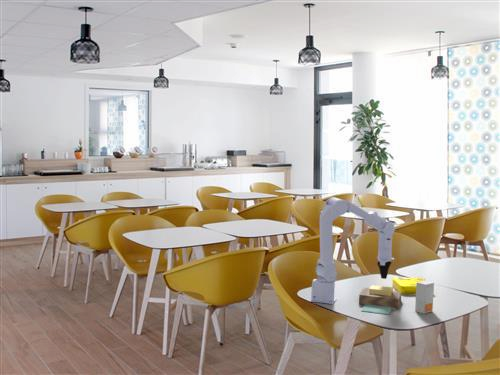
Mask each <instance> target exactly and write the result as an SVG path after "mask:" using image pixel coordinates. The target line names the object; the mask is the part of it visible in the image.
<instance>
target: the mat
mask: <svg viewBox="0 0 500 375" xmlns="http://www.w3.org/2000/svg"><path fill="white" fill-rule="evenodd" d="M392 309H393V308H392V307H384V306H376V305H368V304H365V305H363V307H362V309H361V310H360V311H361V312H365V313H366V312H367V313H374V314H381V315H390V314H391V312H392Z"/></svg>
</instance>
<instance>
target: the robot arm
mask: <svg viewBox="0 0 500 375" xmlns="http://www.w3.org/2000/svg"><path fill="white" fill-rule="evenodd" d="M346 213H347V214H350V213H352V214H354V215H355V216H358V217H359V218H360V219H363V220H364V223H365V225H367V226H370V227H372V228H374V229H375V230H376V231H378V242H377V243H378V246H377V249H378V250H377V262H376V264H377V266H378V270H379V273H380V278H381V279H383V280H384V279H385V280H386V279H387V278H388V274H389V269H390V266H391V265H392V261H395V258H394V257H392V254H393V253H392V251H393V237H394V236H393V234H394V233H395V231H396V227H395V224H394V222H392V221H389V220H387V218H386V217H384V216H380V215H379V214H378V212H377V211H369V212H368V211H366V210H364V209H363V208H361V207H359V206H358V205H356V204H355V203H352V202H351V201H347V200H345V199H341V198H337V197H335V196H332V197H330V198H328V199H327V200H326V201H325V202H324V205H323V208H322V210H321V212H320V215H319V219H318V220H319V258H318V259H317V265H316V267H315V274H316V275H317V278H314V279H312V282H311V294H310V295H311V297H310V298H311V299H310V301H311V302H315V303H321V304H323V303H324V304H329V305H333V304H334V303H335V301H337V300H338V299H337V297H335V288H336V287H335V285H336V280H337V277H338V270H337V269H336V263H335V261H334V257H333V256H334V252H333V250H334V249H333V248H334V247H333V245H334V244H333V240H334V239H333V222H334V221H335V220H336V219H337V218H339V217H341V216H342V215H345V214H346Z"/></svg>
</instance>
